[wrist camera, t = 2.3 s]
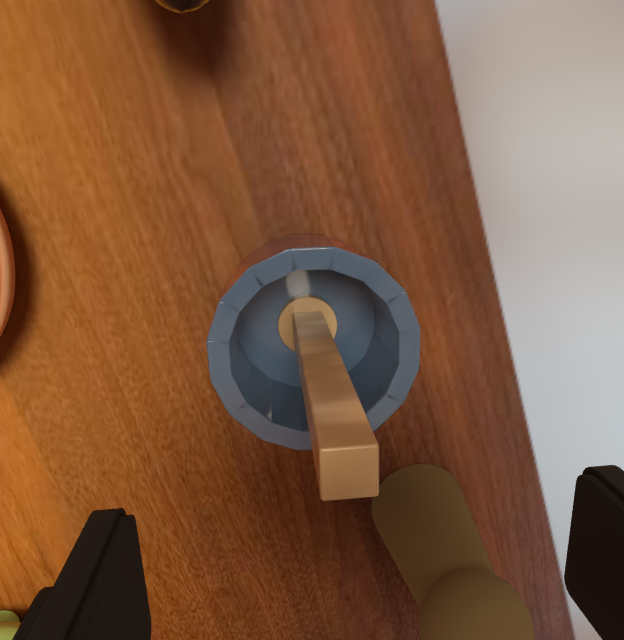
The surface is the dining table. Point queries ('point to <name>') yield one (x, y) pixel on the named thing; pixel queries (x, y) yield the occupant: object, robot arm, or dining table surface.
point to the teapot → (8, 624)
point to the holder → (281, 362)
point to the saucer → (6, 274)
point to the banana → (182, 5)
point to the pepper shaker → (445, 559)
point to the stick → (330, 402)
